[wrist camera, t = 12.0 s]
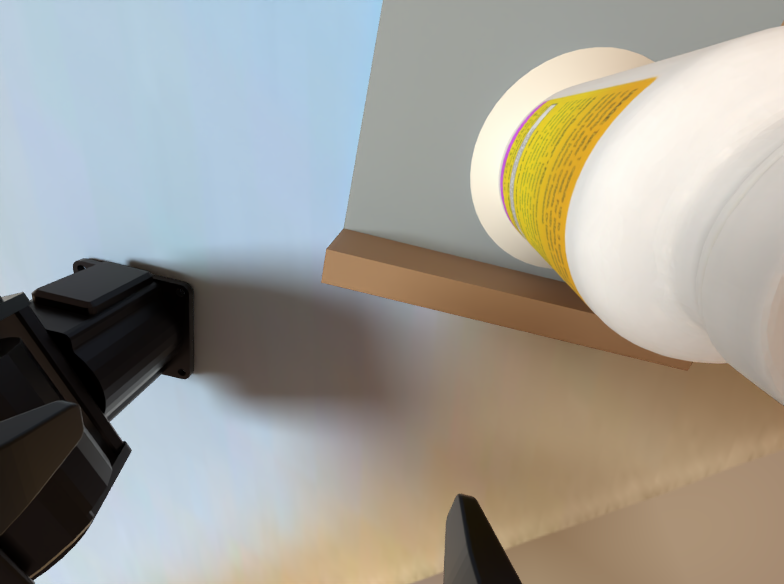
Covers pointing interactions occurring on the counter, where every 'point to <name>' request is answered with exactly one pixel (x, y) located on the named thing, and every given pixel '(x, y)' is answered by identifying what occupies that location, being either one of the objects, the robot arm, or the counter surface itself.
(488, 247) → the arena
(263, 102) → the counter surface
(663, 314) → the supplement bottle
